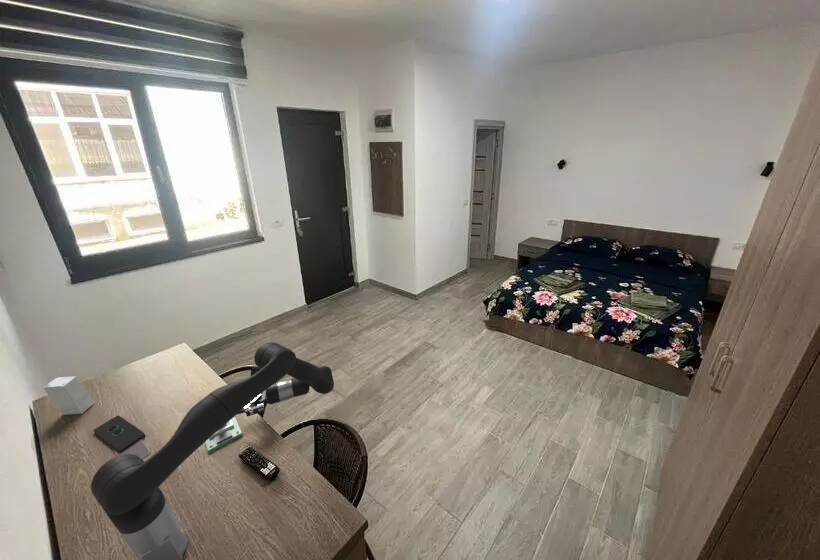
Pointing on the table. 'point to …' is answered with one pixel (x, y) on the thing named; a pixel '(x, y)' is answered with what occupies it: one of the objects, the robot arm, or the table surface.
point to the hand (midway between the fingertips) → (234, 403)
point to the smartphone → (135, 450)
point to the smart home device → (119, 433)
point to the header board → (224, 435)
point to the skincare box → (69, 395)
